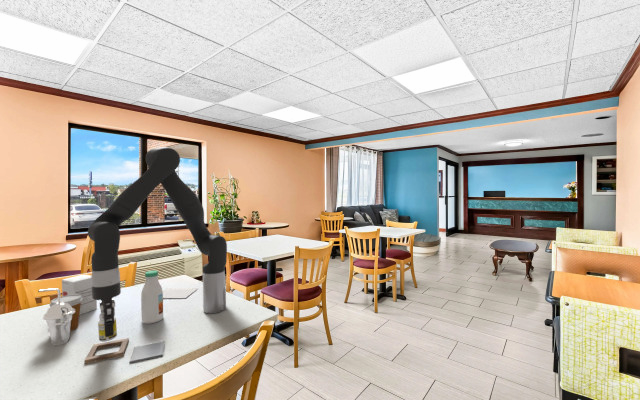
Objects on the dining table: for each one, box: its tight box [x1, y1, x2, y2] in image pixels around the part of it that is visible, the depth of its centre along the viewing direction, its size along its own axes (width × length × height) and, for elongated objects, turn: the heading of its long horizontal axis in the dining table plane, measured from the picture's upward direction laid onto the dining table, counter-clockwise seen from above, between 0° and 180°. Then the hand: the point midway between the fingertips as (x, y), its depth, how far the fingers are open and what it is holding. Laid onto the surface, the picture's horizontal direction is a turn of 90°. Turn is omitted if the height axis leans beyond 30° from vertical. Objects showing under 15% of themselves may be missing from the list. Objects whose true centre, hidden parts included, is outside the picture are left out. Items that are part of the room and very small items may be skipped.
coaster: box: [129, 341, 165, 364], centre depth 95 cm, size 9×9×1 cm
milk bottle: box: [140, 270, 164, 325], centre depth 119 cm, size 8×8×20 cm
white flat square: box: [162, 288, 197, 299], centre depth 145 cm, size 23×25×1 cm
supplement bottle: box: [97, 312, 118, 343], centre depth 95 cm, size 5×5×8 cm
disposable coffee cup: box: [49, 294, 82, 332], centre depth 111 cm, size 10×10×12 cm
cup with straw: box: [38, 287, 75, 346], centre depth 102 cm, size 8×9×20 cm
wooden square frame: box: [83, 337, 130, 365], centre depth 96 cm, size 10×10×1 cm
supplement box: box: [61, 274, 98, 316], centre depth 128 cm, size 9×9×15 cm
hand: (108, 332), depth 96 cm, fingers closed on supplement bottle, 4 cm apart
